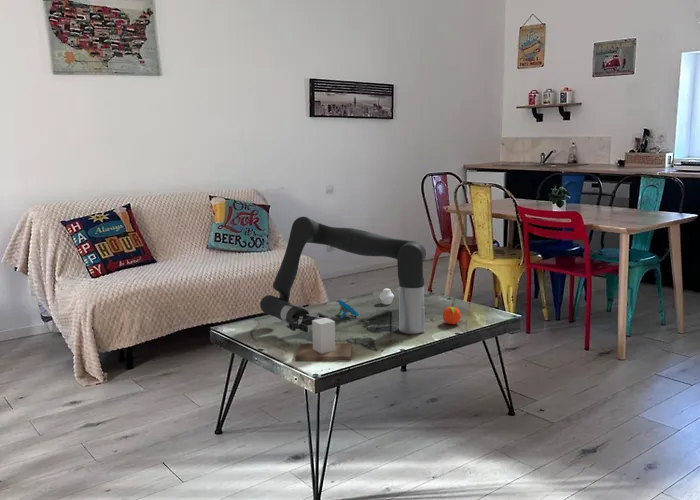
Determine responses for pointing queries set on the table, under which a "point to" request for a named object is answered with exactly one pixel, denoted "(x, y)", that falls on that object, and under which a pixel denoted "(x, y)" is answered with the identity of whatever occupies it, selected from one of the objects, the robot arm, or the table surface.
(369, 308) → the table surface
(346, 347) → the base plate
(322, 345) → the block
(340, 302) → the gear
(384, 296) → the white vase
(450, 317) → the clementine
